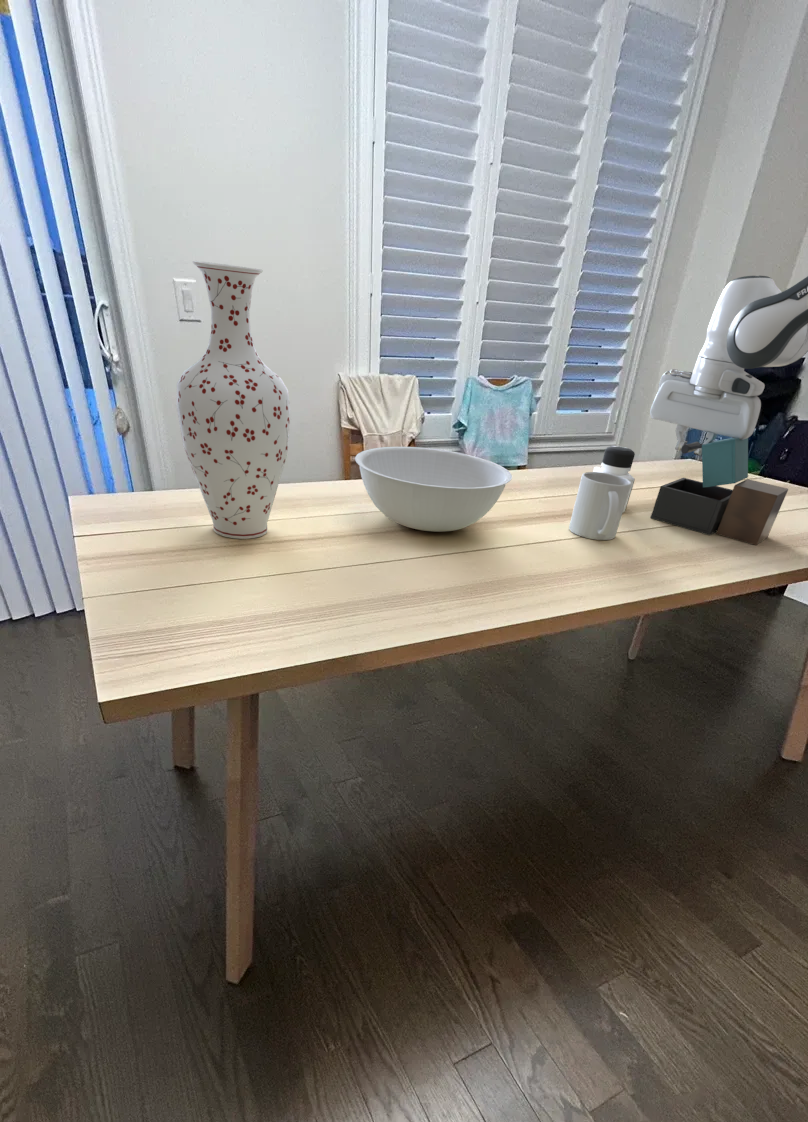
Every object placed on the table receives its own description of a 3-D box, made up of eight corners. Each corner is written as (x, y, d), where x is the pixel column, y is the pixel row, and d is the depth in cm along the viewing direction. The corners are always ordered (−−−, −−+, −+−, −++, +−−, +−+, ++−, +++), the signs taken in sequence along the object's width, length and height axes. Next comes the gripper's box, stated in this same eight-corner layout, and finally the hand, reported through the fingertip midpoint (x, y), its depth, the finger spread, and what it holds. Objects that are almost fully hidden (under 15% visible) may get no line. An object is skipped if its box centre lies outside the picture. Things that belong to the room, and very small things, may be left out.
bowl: (323, 508, 116) (324, 450, 110) (436, 495, 131) (442, 443, 125) (414, 559, 99) (421, 494, 94) (532, 538, 114) (544, 481, 108)
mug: (578, 521, 126) (592, 469, 120) (624, 534, 122) (641, 480, 116) (557, 533, 118) (570, 477, 112) (605, 547, 114) (622, 490, 108)
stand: (767, 536, 131) (788, 488, 125) (756, 545, 125) (777, 495, 119) (728, 525, 135) (747, 478, 129) (715, 533, 129) (734, 484, 123)
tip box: (748, 432, 126) (693, 442, 133) (735, 436, 120) (679, 446, 127) (747, 477, 129) (694, 484, 136) (735, 483, 123) (680, 490, 130)
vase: (310, 529, 106) (315, 275, 86) (248, 556, 94) (236, 266, 74) (233, 507, 111) (221, 263, 91) (165, 530, 99) (133, 253, 79)
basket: (729, 523, 136) (741, 492, 133) (709, 535, 127) (722, 502, 124) (672, 507, 142) (683, 477, 139) (650, 518, 133) (660, 486, 130)
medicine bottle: (625, 513, 134) (643, 453, 128) (592, 509, 134) (608, 449, 127) (616, 503, 140) (633, 446, 134) (585, 500, 140) (600, 442, 133)
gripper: (658, 367, 125) (635, 441, 133) (765, 388, 115) (733, 467, 123) (670, 366, 129) (647, 439, 137) (773, 387, 119) (742, 463, 127)
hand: (688, 452), depth 130 cm, fingers open, 3 cm apart
